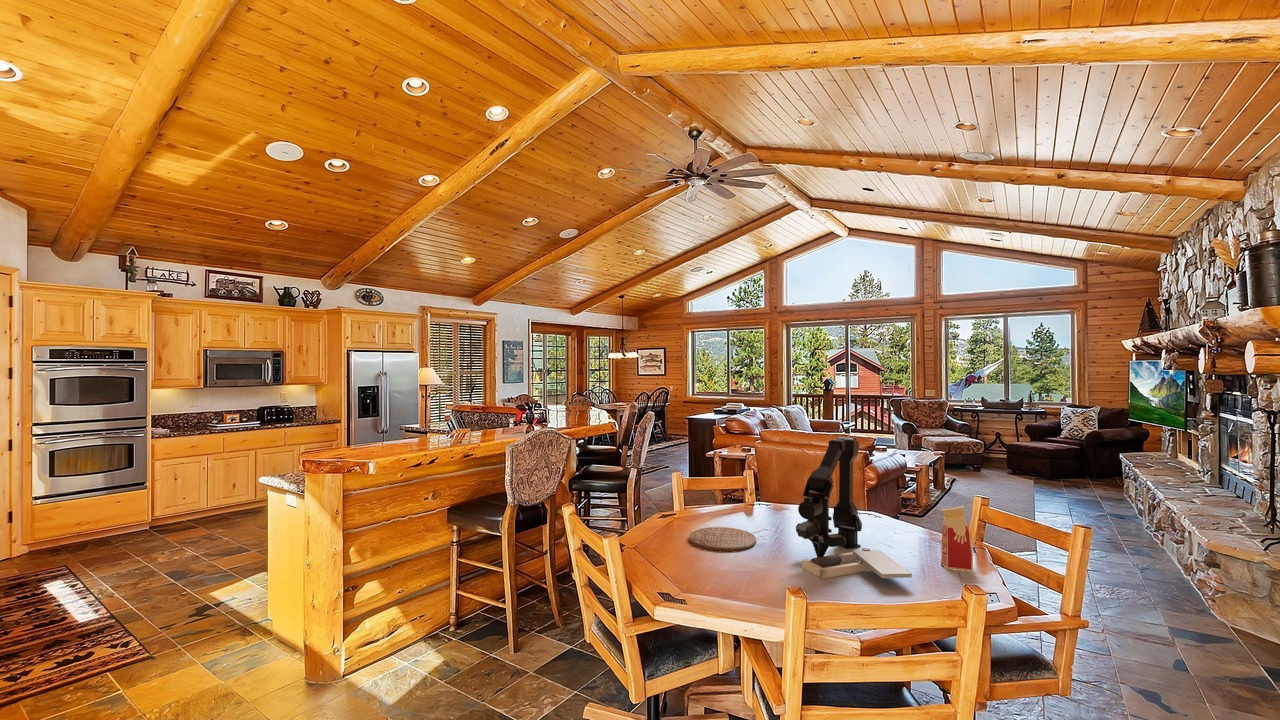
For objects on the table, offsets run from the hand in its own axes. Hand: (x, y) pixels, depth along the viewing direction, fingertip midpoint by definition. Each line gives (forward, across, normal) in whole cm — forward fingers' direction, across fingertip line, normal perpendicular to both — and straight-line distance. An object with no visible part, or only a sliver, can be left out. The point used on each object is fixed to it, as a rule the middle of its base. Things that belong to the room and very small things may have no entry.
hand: (819, 559), depth 192 cm
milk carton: (+1, +19, +40) cm, 44 cm away
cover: (-2, +16, +10) cm, 19 cm away
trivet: (+2, -33, -18) cm, 38 cm away
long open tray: (+1, +6, +3) cm, 7 cm away
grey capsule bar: (-2, +2, 0) cm, 3 cm away
